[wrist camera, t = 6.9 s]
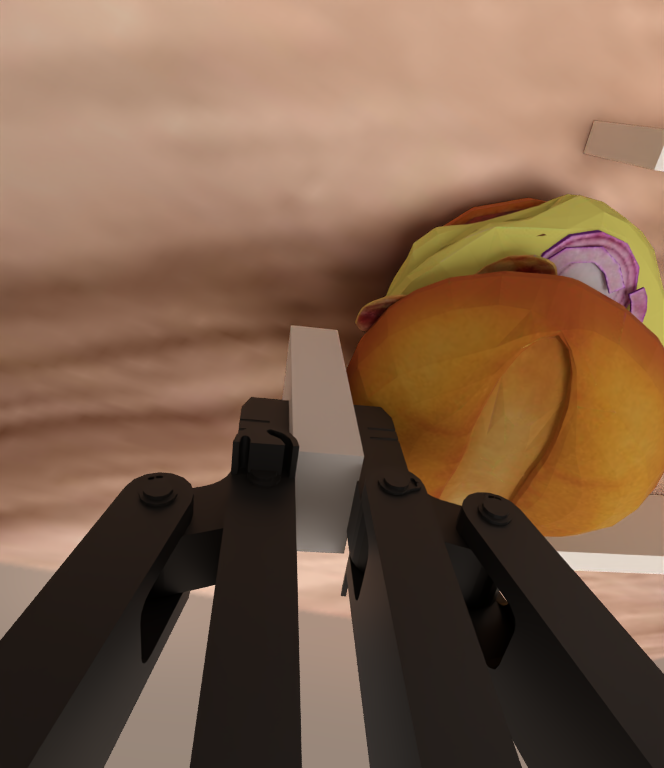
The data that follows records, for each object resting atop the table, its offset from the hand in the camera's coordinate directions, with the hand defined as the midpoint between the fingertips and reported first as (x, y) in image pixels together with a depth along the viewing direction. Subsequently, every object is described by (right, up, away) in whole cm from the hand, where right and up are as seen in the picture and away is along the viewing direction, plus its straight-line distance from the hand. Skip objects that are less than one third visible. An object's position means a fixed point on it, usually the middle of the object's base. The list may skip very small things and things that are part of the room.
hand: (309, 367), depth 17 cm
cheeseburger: (+7, +2, +4) cm, 8 cm away
